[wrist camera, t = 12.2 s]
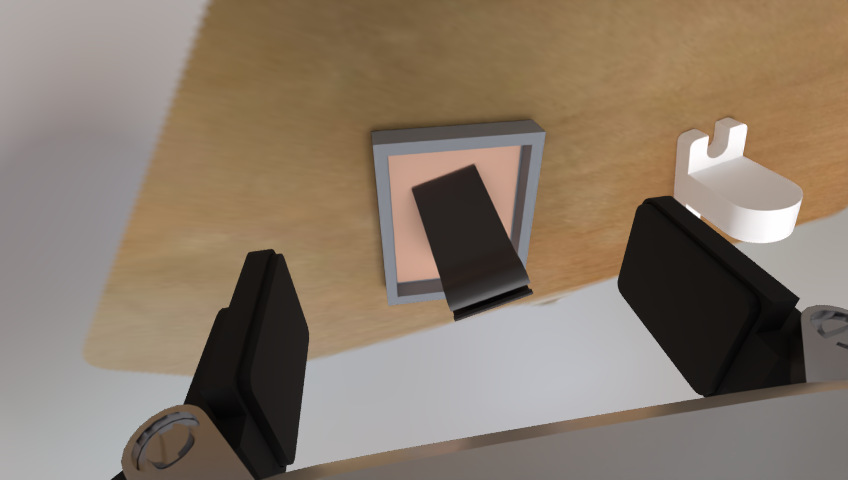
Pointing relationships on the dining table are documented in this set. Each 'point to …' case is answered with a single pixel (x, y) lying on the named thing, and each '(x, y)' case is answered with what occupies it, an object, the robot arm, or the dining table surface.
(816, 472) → the robot arm
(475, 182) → the phone stand
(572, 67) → the dining table surface
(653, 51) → the dining table surface
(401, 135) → the grey tray
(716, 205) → the cable organizer
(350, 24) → the dining table surface
